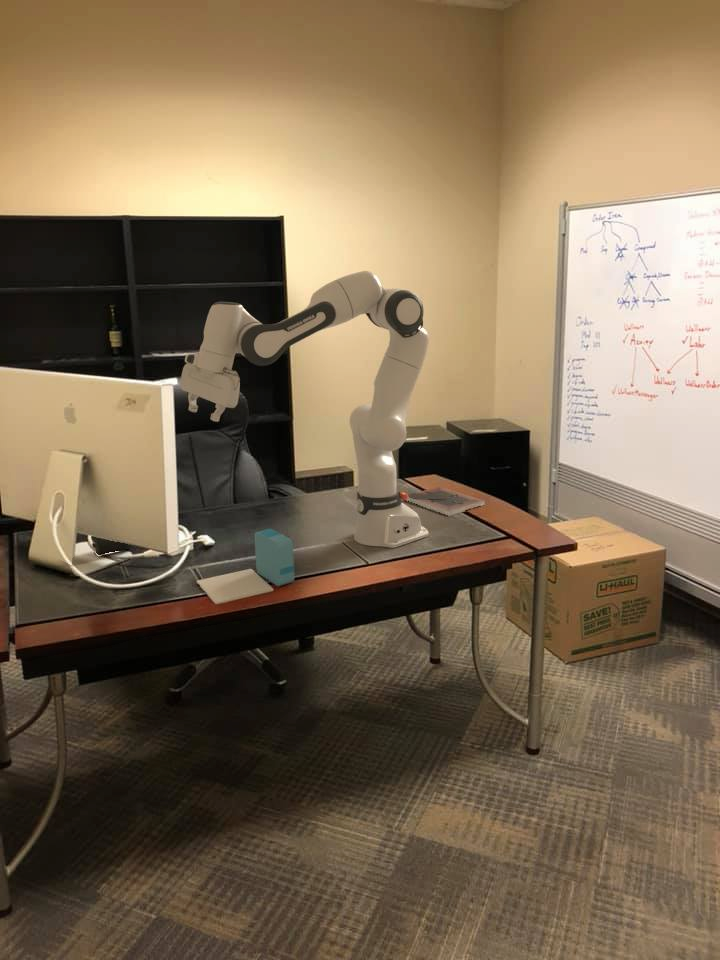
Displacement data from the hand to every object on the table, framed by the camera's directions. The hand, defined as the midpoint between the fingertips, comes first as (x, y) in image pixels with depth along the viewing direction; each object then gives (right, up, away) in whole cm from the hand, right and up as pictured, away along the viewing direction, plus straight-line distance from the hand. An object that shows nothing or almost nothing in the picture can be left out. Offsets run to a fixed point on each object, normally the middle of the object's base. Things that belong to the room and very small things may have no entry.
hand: (203, 416), depth 193 cm
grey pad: (+9, -44, -5) cm, 45 cm away
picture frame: (+69, -25, +58) cm, 94 cm away
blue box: (+19, -42, 0) cm, 46 cm away
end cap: (-30, -38, +19) cm, 52 cm away
